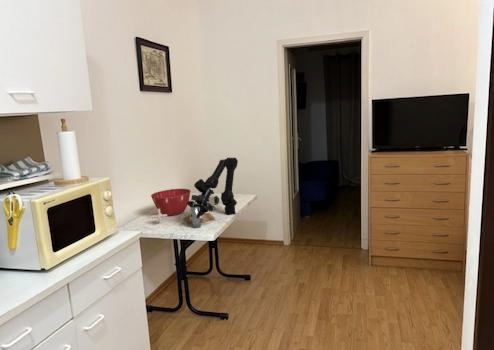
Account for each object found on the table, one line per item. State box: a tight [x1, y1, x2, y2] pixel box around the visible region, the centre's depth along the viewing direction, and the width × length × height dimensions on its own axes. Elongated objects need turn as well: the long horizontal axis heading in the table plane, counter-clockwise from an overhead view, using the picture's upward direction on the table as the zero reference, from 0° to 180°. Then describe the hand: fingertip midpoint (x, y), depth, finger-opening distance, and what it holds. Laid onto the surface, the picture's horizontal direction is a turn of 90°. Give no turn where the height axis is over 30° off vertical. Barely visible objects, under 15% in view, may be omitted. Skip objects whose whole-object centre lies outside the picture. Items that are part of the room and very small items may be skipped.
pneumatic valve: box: [207, 194, 221, 212], centre depth 274 cm, size 6×12×12 cm, turn 70°
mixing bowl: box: [150, 188, 191, 217], centre depth 274 cm, size 28×28×16 cm
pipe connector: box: [151, 208, 168, 225], centre depth 250 cm, size 10×10×10 cm
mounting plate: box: [183, 212, 216, 225], centre depth 253 cm, size 18×14×2 cm
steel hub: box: [190, 206, 202, 229], centre depth 236 cm, size 5×5×13 cm
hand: (194, 217), depth 235 cm, fingers closed on steel hub, 5 cm apart
